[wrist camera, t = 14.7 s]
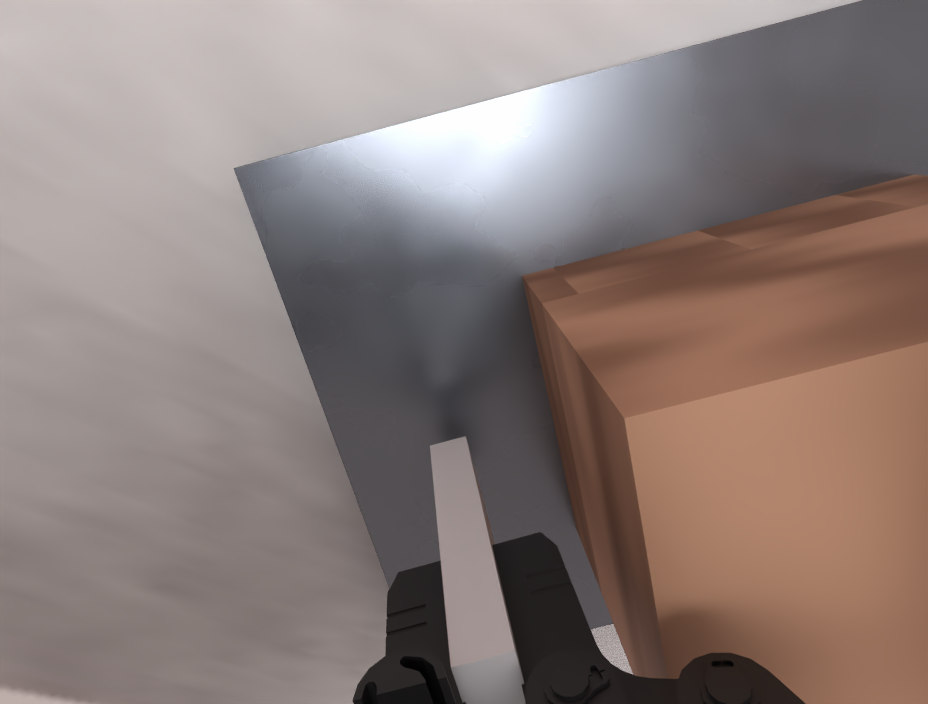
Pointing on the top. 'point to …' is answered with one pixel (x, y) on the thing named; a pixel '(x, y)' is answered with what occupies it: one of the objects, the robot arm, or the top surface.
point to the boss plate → (552, 241)
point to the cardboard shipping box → (756, 440)
